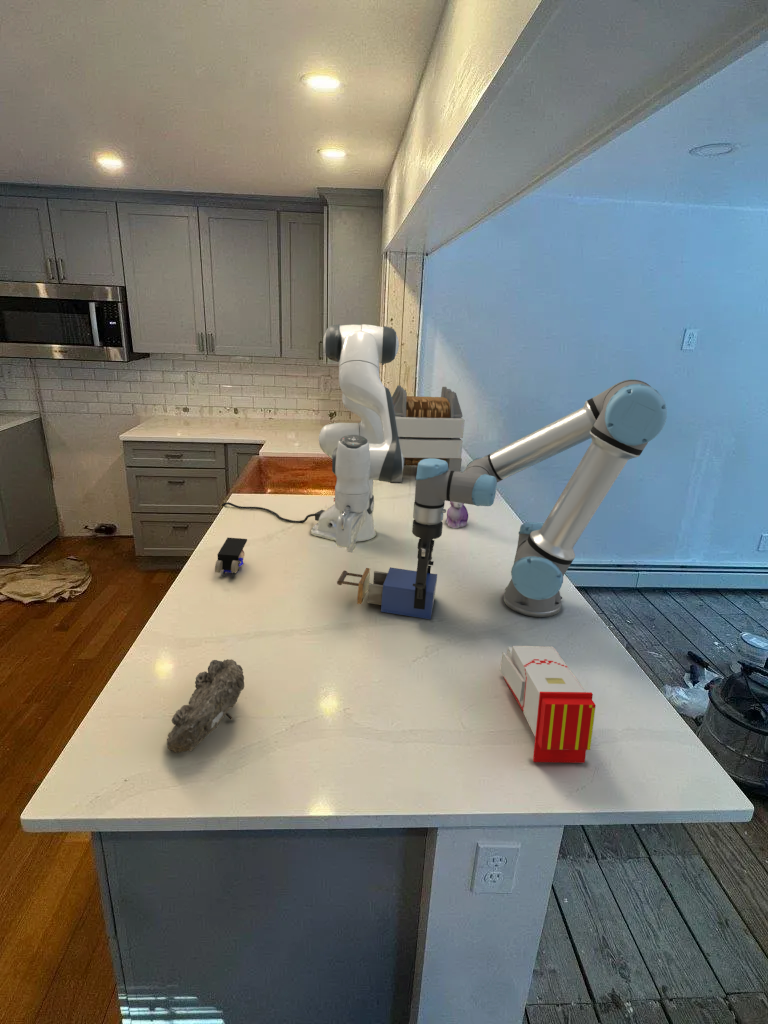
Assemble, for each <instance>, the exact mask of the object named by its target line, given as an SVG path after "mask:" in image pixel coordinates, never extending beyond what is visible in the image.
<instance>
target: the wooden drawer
mask: <svg viewBox="0 0 768 1024" xmlns="http://www.w3.org/2000/svg"><path fill="white" fill-rule="evenodd" d="M387 574H388V572H385V571H378V570H374V571H373V580H372V582H371V583H370V578H371V577H370V576H371V568H370V567H365V569H364V572H363V574H361V573H353V572H348V571H347V570H342V572H341V573H340V576H339V578H338V579H337V581H336V584H337V585H338V586H342V585H347V586H354V587H357V599H356V600H357V601H356V604H357V605H362V604H363V602H364V600H365V597H366V595H367V598H366V599H367V601H366V603H367V604H371V605H379V606H381V603H382V592H383V584H384V582H385V579H386V576H387ZM347 576H348V577H356V578H360V580H359V582H354V581H353V582H352V581H345V579H346V578H347Z"/></svg>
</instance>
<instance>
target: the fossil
mask: <svg viewBox="0 0 768 1024" xmlns="http://www.w3.org/2000/svg"><path fill="white" fill-rule="evenodd" d="M243 670H244V669H243V667H242V665H240V664H237V662H236V661H235V660H234V659H232V658H231V659H227V658H226V659H224V660H223V661H222V660H217V659H212V660H211V661H210V663H209V665H208V666H207V671H201V672H199V673H198V674H197V675H196V676H195V680H194V684H195V685H194V687H195V689H194V690H193V693H192V694H191V697H190V698H189V700H188V704H184V705H182V706H181V707H180V709H177V710H176V711H175V713H174V715H173V716H172V718H171V723H172V724H173V727H172V730H171V731H170V732H168V734H167V738H166V741H167V742H166V745H167V749H168V750H169V751H173V752H174V753H176V754H178V753H182V752H188V751H189V752H192V751H193V750H195V748H196V747H197V746H199V744H200V743H201V742H203V741H204V740H205V739H206V738H207V737H208V736H209V735H210V734H211V733H212V732H214V730H215V729H217V727H218V726H219V724H220V722H221V721H222V720H223V719H224V718H225V716H226V717H227V719H229V720H233V717H232V715H230V714H229V710H230V709H231V708H234V706H235V704H236V703H237V702H238V699H239V697H240V695H241V693H242V691H243V690H245V689H244V688H245V675H244V671H243Z"/></svg>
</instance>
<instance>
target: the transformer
mask: <svg viewBox="0 0 768 1024" xmlns="http://www.w3.org/2000/svg"><path fill="white" fill-rule="evenodd" d="M440 393H441V394H440V396H415V395H414V396H413V395H412V396H411V395H407V394H408V393H407V390H406V389H404V388H403V387H402V385H399V384H398V385H397V386H396V388H395V390H394V392H393V394H392V395H391V396H392V401H393V407H394V413H395V419H396V426H397V432H398V438H399V444H400V449H401V451H402V455H403V460H404V466H403V469H405V466H406V467H407V466H411V467H412V466H413V467H415V466H416V467H418V463H419V462H420V461H421V460H423V459H427V458H435V459H440V460H444V461H446V462H447V463H448V468H449V469H448V470H452V471H458V472H462V461H463V460H462V453H463V442H464V441H463V440H462V439H463V438H464V431H465V430H464V429H465V419H464V418H463V411H462V408H461V405H460V402H459V398H458V395H457V392H455V391H453V390H452V389H451V388H447V386H442V387H441V392H440ZM403 475H404V470H403V471H402V474H401V475H400V476H399V477H398V478H397V479H395V480H394V481H392V482H391V483H402V482H403Z"/></svg>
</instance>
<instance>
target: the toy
mask: <svg viewBox="0 0 768 1024" xmlns="http://www.w3.org/2000/svg"><path fill="white" fill-rule="evenodd" d="M506 650H507V651H502V652H501V659H500V666H499V671H500V673H501V675H502V677H503V679H504V681H505V683H506V684H507V687H508V688H509V690H510V692H511V693H512V696H513V697H514V699H515V700H516V703H517V704H518V706H519V708H520V709H521V711H522V712H523V716H524V717H525V719H526V722H527V723H528V726H529V728H530V730H531V731H532V734H533V736H534V744H533V745H534V746H533V757H532V762H533V763H568V764H569V763H575V764H576V763H577V764H578V763H579V764H582V763H583V764H585V762H586V754H587V751H591V747H592V746H591V745H592V738H593V729H594V722H595V713H596V707H597V706H596V703H595V702H594V700H593V696H594V695H593V692H590V691H589V692H587V691H586V690H585V688H584V687H583V686H582V684H581V683H580V681H579V680H578V679H577V677H576V676H575V675H574V673H573V672H572V671H571V669H570V668H569V667H568V665H567V664H566V662H565V661H564V659H563V658H562V656H561V655H560V653H559V651H557V649H556V648H555V647H554V646H545V645H544V646H543V645H542V646H540V645H535V646H534V645H512V646H507V649H506Z"/></svg>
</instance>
